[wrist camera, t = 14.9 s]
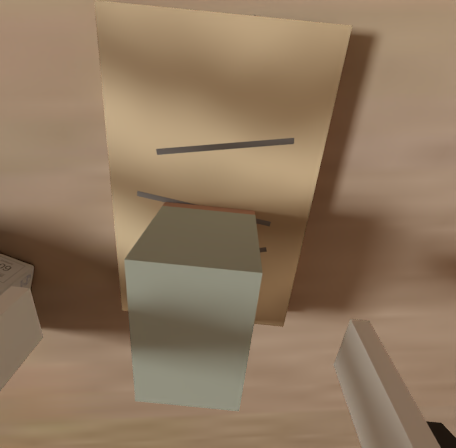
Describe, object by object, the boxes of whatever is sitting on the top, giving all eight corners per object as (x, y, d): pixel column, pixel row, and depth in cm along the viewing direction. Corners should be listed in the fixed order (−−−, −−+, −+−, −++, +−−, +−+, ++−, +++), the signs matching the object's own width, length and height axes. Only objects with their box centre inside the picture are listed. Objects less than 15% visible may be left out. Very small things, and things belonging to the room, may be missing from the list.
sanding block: (165, 201, 15) (123, 259, 10) (254, 210, 15) (262, 273, 10) (165, 312, 19) (135, 401, 13) (239, 319, 19) (239, 411, 13)
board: (109, 10, 13) (93, -1, 12) (340, 32, 13) (352, 25, 12) (130, 296, 20) (121, 310, 19) (280, 311, 20) (283, 326, 19)
